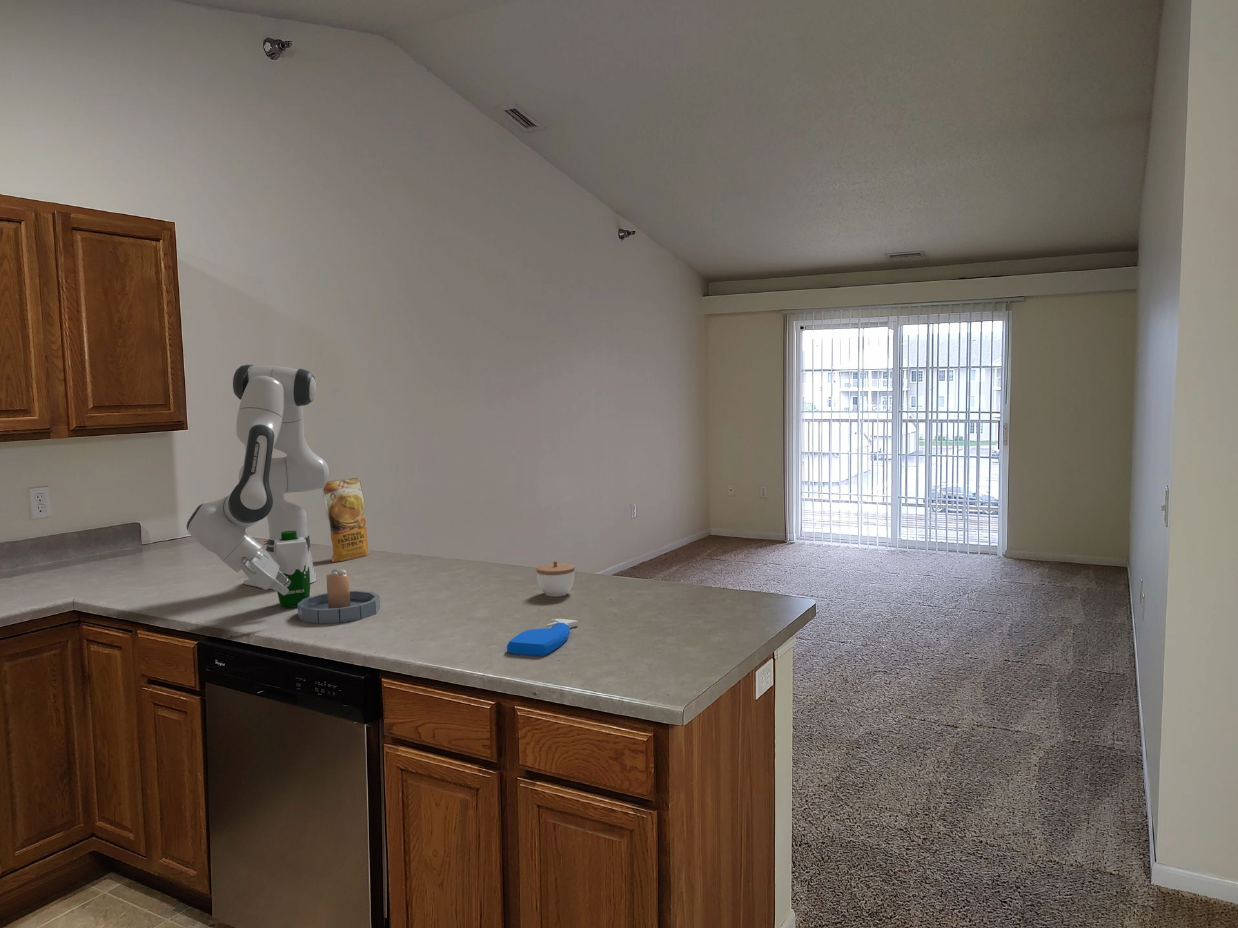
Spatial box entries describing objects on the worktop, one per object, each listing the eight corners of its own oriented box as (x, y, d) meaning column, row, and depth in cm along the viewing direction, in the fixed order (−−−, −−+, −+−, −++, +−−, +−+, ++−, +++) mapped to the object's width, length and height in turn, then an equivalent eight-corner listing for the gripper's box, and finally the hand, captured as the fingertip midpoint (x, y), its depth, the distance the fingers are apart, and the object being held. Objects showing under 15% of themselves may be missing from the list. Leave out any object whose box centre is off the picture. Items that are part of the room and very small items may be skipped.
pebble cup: (323, 609, 221) (321, 570, 220) (339, 604, 226) (337, 566, 225) (339, 611, 218) (336, 572, 217) (355, 606, 223) (352, 568, 222)
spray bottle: (547, 645, 180) (588, 616, 203) (501, 641, 184) (546, 613, 207) (547, 658, 181) (588, 628, 204) (502, 655, 184) (547, 625, 207)
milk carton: (308, 598, 238) (304, 529, 236) (313, 605, 230) (308, 533, 228) (275, 603, 234) (271, 532, 232) (279, 610, 226) (274, 537, 224)
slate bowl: (282, 618, 218) (281, 605, 217) (339, 600, 235) (339, 588, 235) (339, 626, 209) (339, 612, 208) (394, 606, 226) (394, 594, 226)
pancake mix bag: (320, 562, 290) (315, 482, 287) (363, 552, 306) (359, 476, 304) (333, 563, 286) (328, 482, 284) (376, 553, 303) (372, 476, 300)
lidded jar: (551, 588, 243) (550, 556, 242) (582, 591, 238) (581, 559, 237) (529, 596, 234) (528, 563, 233) (561, 600, 229) (560, 566, 228)
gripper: (249, 552, 204) (294, 588, 208) (257, 539, 223) (298, 571, 227) (230, 572, 203) (276, 607, 207) (240, 557, 223) (281, 589, 226)
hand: (288, 588), depth 217 cm, fingers open, 8 cm apart
